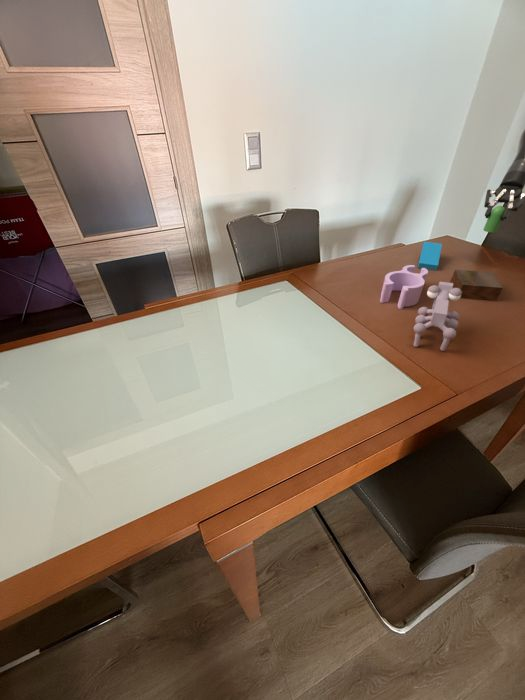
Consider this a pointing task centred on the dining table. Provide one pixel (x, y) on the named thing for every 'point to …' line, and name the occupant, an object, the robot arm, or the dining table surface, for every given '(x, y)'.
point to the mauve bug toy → (439, 313)
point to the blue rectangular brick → (430, 255)
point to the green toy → (494, 219)
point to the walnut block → (477, 284)
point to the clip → (404, 285)
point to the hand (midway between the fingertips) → (494, 218)
